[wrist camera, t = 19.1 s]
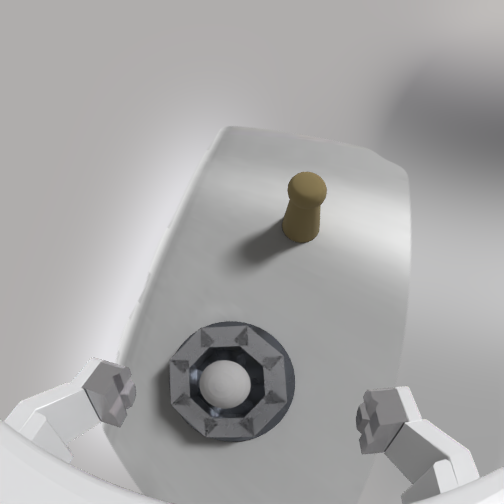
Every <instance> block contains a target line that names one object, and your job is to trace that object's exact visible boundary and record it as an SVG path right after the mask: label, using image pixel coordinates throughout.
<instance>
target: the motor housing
mask: <svg viewBox="0 0 504 504" xmlns="http://www.w3.org/2000/svg"><path fill="white" fill-rule="evenodd" d="M221 360H227V361H232V362H235V363H237V364H239V365H240V366H242V367H243V368H244V369H245V370H246V372H247V373H248V375H249V378H250V382H251V387H250V392H249V394H248V396H247V398H246V399H245V400H244V401H243V402H242V403H241V404H239V405H238V406H236V407H233V408H228V409H222V408H218V407H215V406H213V405H211V404H210V403H208V402H207V401H206V400H205V398H204V397H203V395H202V393H201V391H200V384H199V383H200V377H201V374H202V372H203V371H204V370H205V368H206V367H207V366H209V365H210V364H212V363H214V362H216V361H221ZM169 384H170V392H171V405H172V406H173V407H174V408H175V409H176V410H177V411H178V412H179V413H180V415H181V416H182V417H183V419H184V420H185V421H186V422H187V423H188V424H189V425H190V426H191V427H193V428H194V429H195V430H197V431H198V432H200V433H201V434H203V435H204V436H205V437H210V438H214V439H217V440H222V441H231V442H236V441H245V440H250V439H253V438H256V437H259V436H261V435H263V434H265V433H266V432H268V431H269V430H271V429H272V428H273V427H275V426H276V425H277V424H278V423H279V422H280V421H281V419H282V418H283V417H284V416H285V414H286V412H287V411H288V409H289V407H290V405H291V402H292V399H293V395H294V390H295V376H294V369H293V366H292V363H291V360H290V358H289V356H288V354H287V352H286V351H285V349H284V348H283V347H282V345H281V344H280V343H279V342H278V341H277V340H276V339H275V338H274V337H273V336H272V335H270V334H269V333H267V332H266V331H264V330H262V329H261V328H259V327H256V326H254V325H251V324H247V323H242V322H219V323H215V324H211V325H209V326H206V327H204V328H200V329H199V330H198V331H197V332H195V333H194V334H192V335H191V336H190V337H189V338H188V339H187V340H186V341H185V342H184V343H183V344H182V345H181V346H180V348H179V350H178V351H177V353H176V354H175V355H174V356H173V357H172V358H171V359H170V378H169Z"/></svg>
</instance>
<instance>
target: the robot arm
mask: <svg viewBox="0 0 504 504" xmlns="http://www.w3.org/2000/svg"><path fill="white" fill-rule="evenodd" d="M131 375H132V374H131V372H130V369H129V368H128V367H125V366H121V365H118V364H115V363H111V362H108V361H105V360H101V359H98V358H95V357H93V358H91V359H90V360H89V361H88V362H87V363H86V364H85V366H84V367H83V368H82V369H81V371H80V372H79V373H78V374H77V375H76V377H75V378H74V379H73V381H72V382H71V383H65V384H62V385H60V386H57V387H55V388H52V389H50V390H47V391H45V392H42V393H40V394H37V395H35V396H32V397H30V398H27V399H25V400H22V401H20V402H19V404H18V405H17V406H16V407H15V408H14V410H13V411H12V412H11V413H10V415H9V416H8V417H7V418H6V420H5V421H2V420H1V419H0V504H174V503H170V502H166V501H162V500H159V499H155V498H152V497H149V496H146V495H143V494H140V493H136V492H134V491H130V490H128V489H125V488H122V487H120V486H117V485H115V484H112V483H110V482H107V481H105V480H103V479H100V478H98V477H96V476H94V475H91V474H89V473H87V472H85V471H83V470H81V469H79V468H77V467H75V466H73V465H71V464H70V462H71V460H72V458H73V453H72V452H71V450H70V449H69V448H68V447H67V445H66V444H68V443H69V442H71V441H73V440H74V439H76V438H77V437H79V436H81V435H82V434H84V433H85V432H87V431H89V430H90V429H92V428H93V427H95V426H96V425H98V424H99V423H101V421H102V422H104V423H107V424H111V425H114V426H117V427H121V425H122V424H123V422H124V420H125V418H126V416H127V412H126V409H128V408H130V407H132V405H133V403H134V401H135V397H136V387H135V384H134V382H133V381H132V380H131V379H130V377H131ZM363 399H364V402H363V403H362V404H361V405H360V406H359V408H358V411H357V416H356V425H357V430H358V431H359V432H360V433H361V434H362V435H361V437H360V439H359V442H360V448H361V453H362V454H373V453H382V452H385V453H384V454H385V455H386V456H387V457H388V458H389V459H390V460H391V462H392V463H393V464H394V465H395V466H396V467H397V468H398V469H399V470H400V471H401V472H402V473H403V475H404V476H405V477H406V478H407V479H408V480H409V481H410V482H411V483H412V484H413V485H412V486H411V487H409V488H408V489H407V490H406V491H405V492H404V493H403V494H402V495H401V499H402V504H504V466H503V467H501V468H499V469H497V470H495V471H493V472H491V473H489V474H487V475H485V476H483V477H481V478H480V477H479V474H478V471H477V468H476V466H475V463H474V461H473V458H472V456H471V453H470V451H469V450H468V449H467V448H465V447H464V446H462V445H461V444H460V443H458V442H457V441H455V440H454V439H453V438H451V437H450V436H448V435H447V434H445V433H444V432H443V431H442V430H440V429H439V428H437V427H436V426H435V425H433V424H432V423H431V422H429V421H428V420H426V419H424V420H422V418H421V415H420V413H419V410H418V408H417V405H416V403H415V400H414V398H413V396H412V393H411V391H410V389H409V387H407V386H404V387H395V388H383V389H370V390H367V391H366V392H365V394H364V396H363Z"/></svg>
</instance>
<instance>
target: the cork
mask: <svg viewBox="0 0 504 504" xmlns="http://www.w3.org/2000/svg"><path fill="white" fill-rule="evenodd" d="M326 193H327V188H326V185H325V182H324V181H323V180H322V178H321V177H320V176H318V175H317V174H314V173H312V172H301V173H298V174H297V175H295V176H294V177H292V179H291V180H290V182H289V184H288V195H289V198H290V200H289V204H288V207H287V210H286V213H285V216H284V219H283V223H282V228H283V232H284V233H285V235H286V236H287V237H288V238H289V239H291V240H293V241H295V242H299V243H304V242H309V241H311V240H313V239H314V238H315V237H316V236H317V234H318V232H319V225H320V205H321V204H322V203H323V201H324V200H325V198H326Z"/></svg>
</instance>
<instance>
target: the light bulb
mask: <svg viewBox="0 0 504 504" xmlns="http://www.w3.org/2000/svg"><path fill="white" fill-rule="evenodd" d="M199 384H200V391H201V393H202V395H203V397H204V398H205V400H206V401H207V402H208V403H210V404H211V405H213V406H215V407H218V408H222V409H228V408H233V407H236V406H238V405H239V404H241V403H242V402H243V401H244V400H245V399H246V398H247V396H248V394H249V392H250V387H251V382H250V378H249V375H248V373H247V372H246V370H245V369H244V368H243V367H242V366H240V365H239V364H237V363H235V362H232V361H227V360H221V361H216V362H214V363H212V364H210V365H209V366H207V367H206V368H205V370H204V371H203V372H202V374H201V377H200V383H199Z"/></svg>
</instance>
